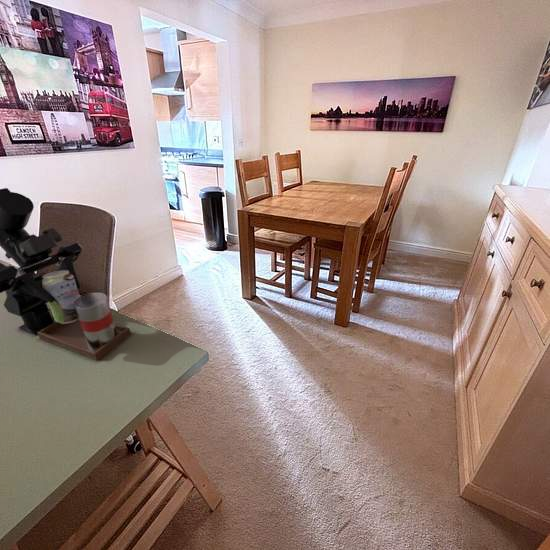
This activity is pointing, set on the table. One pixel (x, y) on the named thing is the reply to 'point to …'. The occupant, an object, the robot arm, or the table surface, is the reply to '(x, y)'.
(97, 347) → the can
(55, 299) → the beverage can
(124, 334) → the drinks tray
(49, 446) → the table surface
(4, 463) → the table surface
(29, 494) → the table surface
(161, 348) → the table surface
